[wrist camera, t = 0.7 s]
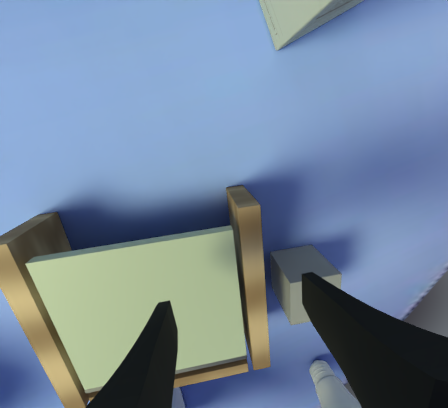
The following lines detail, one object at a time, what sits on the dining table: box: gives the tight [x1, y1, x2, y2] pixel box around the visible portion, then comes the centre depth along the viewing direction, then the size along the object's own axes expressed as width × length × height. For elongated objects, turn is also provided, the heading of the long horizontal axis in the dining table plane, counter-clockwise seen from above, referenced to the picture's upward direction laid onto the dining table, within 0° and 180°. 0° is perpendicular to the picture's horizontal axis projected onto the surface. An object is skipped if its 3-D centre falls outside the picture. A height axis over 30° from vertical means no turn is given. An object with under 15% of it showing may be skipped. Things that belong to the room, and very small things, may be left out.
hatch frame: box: [0, 185, 270, 408], centre depth 19 cm, size 15×17×6 cm
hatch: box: [26, 225, 247, 393], centre depth 17 cm, size 12×13×1 cm
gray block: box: [270, 245, 342, 325], centre depth 22 cm, size 4×4×5 cm
